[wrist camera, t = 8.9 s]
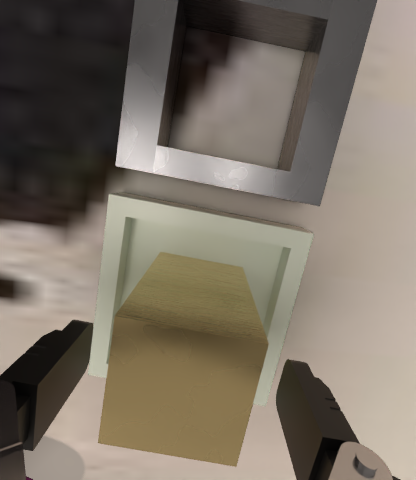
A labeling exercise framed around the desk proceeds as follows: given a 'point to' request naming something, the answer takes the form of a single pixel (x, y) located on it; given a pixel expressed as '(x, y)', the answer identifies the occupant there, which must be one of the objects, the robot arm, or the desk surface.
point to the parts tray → (201, 247)
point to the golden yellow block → (184, 362)
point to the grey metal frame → (260, 29)
